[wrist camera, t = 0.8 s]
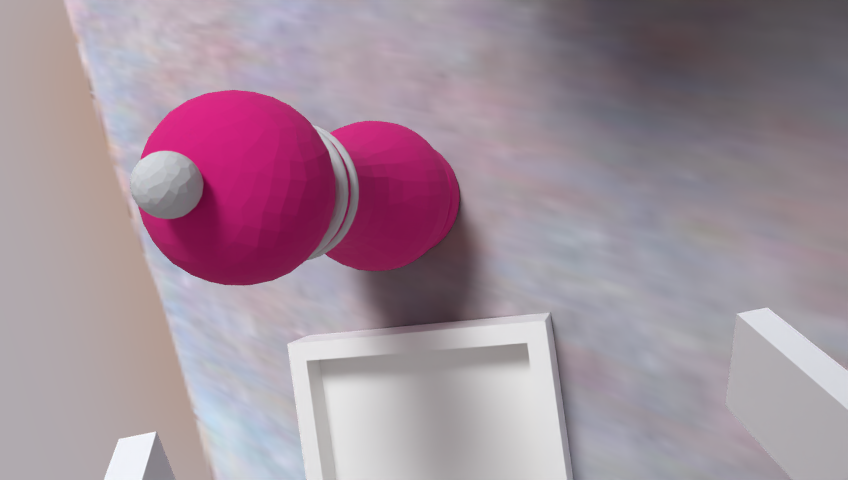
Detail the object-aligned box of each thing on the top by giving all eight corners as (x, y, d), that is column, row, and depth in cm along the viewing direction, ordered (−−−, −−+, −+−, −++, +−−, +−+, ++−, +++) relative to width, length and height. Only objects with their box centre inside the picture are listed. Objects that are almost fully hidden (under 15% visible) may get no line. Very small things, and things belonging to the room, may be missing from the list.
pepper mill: (354, 124, 35) (45, 23, 16) (479, 141, 33) (291, 49, 14) (336, 251, 36) (18, 296, 17) (457, 275, 34) (250, 357, 15)
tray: (309, 335, 37) (287, 343, 34) (550, 312, 33) (544, 320, 30) (346, 606, 37) (327, 633, 35) (592, 618, 33) (590, 650, 30)
